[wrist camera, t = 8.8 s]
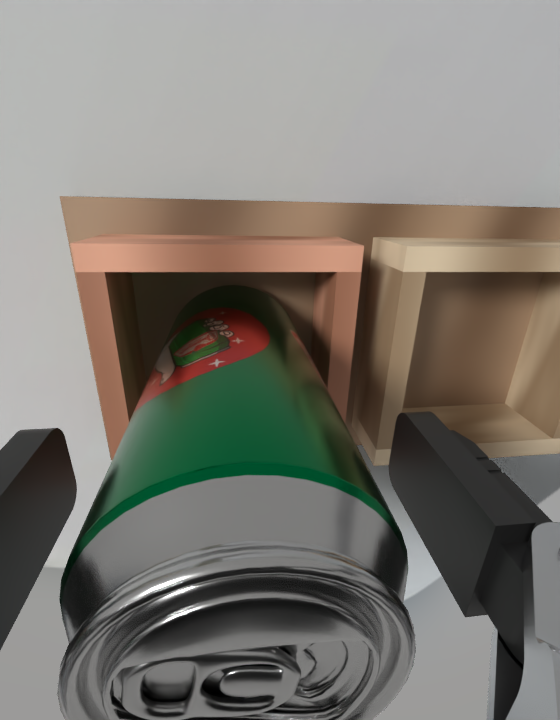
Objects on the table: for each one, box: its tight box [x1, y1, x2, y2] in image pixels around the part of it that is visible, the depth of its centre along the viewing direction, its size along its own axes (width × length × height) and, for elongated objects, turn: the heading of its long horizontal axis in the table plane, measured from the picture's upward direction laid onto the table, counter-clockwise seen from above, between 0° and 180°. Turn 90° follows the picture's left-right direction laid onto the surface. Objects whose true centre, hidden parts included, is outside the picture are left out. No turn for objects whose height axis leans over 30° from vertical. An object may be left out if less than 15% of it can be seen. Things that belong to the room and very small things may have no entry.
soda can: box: [58, 285, 416, 720], centre depth 10 cm, size 5×5×12 cm
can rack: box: [60, 196, 560, 466], centre depth 15 cm, size 21×11×4 cm, turn 89°
